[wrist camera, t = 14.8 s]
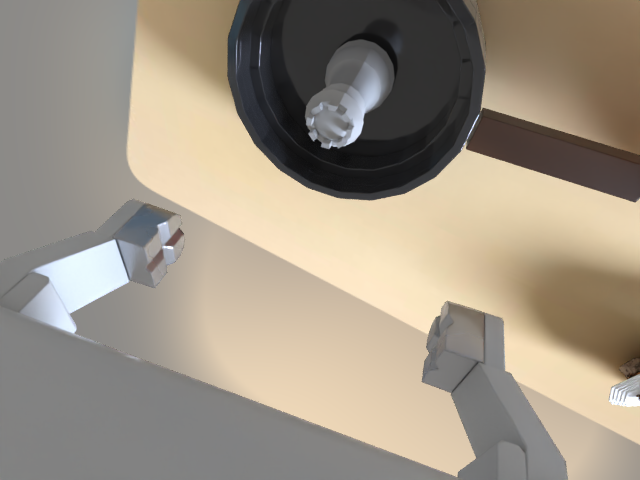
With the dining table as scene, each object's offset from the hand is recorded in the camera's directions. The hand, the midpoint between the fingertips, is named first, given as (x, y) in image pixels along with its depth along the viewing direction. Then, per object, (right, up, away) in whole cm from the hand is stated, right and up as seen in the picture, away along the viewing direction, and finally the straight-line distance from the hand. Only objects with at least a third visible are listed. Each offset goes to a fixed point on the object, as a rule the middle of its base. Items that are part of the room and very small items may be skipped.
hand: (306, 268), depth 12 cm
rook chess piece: (+3, +12, +15) cm, 19 cm away
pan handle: (+14, +6, +12) cm, 20 cm away
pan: (+3, +12, +15) cm, 20 cm away
